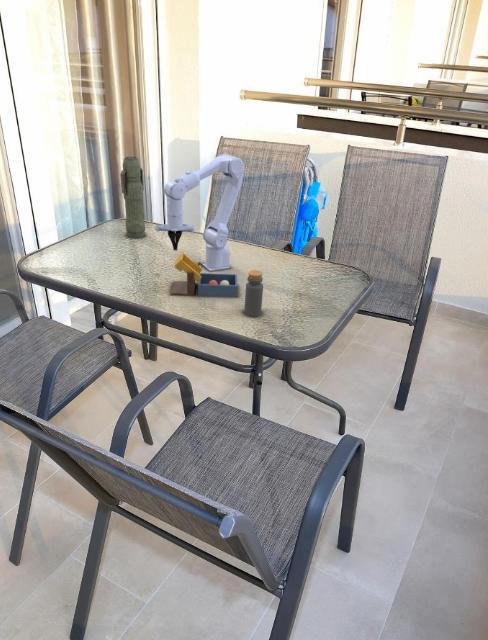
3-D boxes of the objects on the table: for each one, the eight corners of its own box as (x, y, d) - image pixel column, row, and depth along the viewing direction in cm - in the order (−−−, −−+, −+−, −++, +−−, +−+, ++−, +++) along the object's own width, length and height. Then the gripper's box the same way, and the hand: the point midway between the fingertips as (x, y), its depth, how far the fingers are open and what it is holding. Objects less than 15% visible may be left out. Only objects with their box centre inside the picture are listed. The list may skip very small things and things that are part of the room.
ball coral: (208, 280, 191) (215, 286, 193) (205, 286, 189) (211, 292, 191) (214, 276, 189) (221, 283, 190) (211, 283, 187) (217, 289, 188)
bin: (198, 296, 186) (198, 284, 184) (199, 283, 196) (199, 272, 193) (237, 297, 187) (237, 286, 184) (236, 284, 196) (236, 274, 194)
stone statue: (120, 236, 239) (113, 158, 220) (137, 230, 247) (132, 154, 229) (134, 240, 235) (129, 161, 216) (151, 234, 243) (147, 157, 225)
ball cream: (221, 286, 193) (229, 281, 192) (224, 293, 191) (232, 288, 190) (217, 281, 190) (225, 276, 189) (219, 288, 188) (227, 283, 187)
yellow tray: (174, 267, 182) (181, 259, 180) (177, 252, 194) (184, 245, 193) (196, 285, 186) (203, 277, 184) (197, 270, 198) (204, 262, 197)
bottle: (243, 309, 178) (245, 269, 170) (259, 309, 179) (263, 269, 171) (245, 316, 173) (247, 276, 165) (262, 316, 174) (265, 276, 166)
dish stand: (171, 295, 186) (170, 272, 181) (173, 282, 195) (173, 261, 191) (193, 295, 186) (193, 273, 181) (195, 283, 196) (195, 262, 191)
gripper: (154, 217, 186) (155, 252, 193) (193, 218, 187) (193, 253, 194) (156, 211, 192) (157, 246, 199) (194, 213, 193) (194, 247, 200)
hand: (175, 249), depth 197 cm, fingers closed
